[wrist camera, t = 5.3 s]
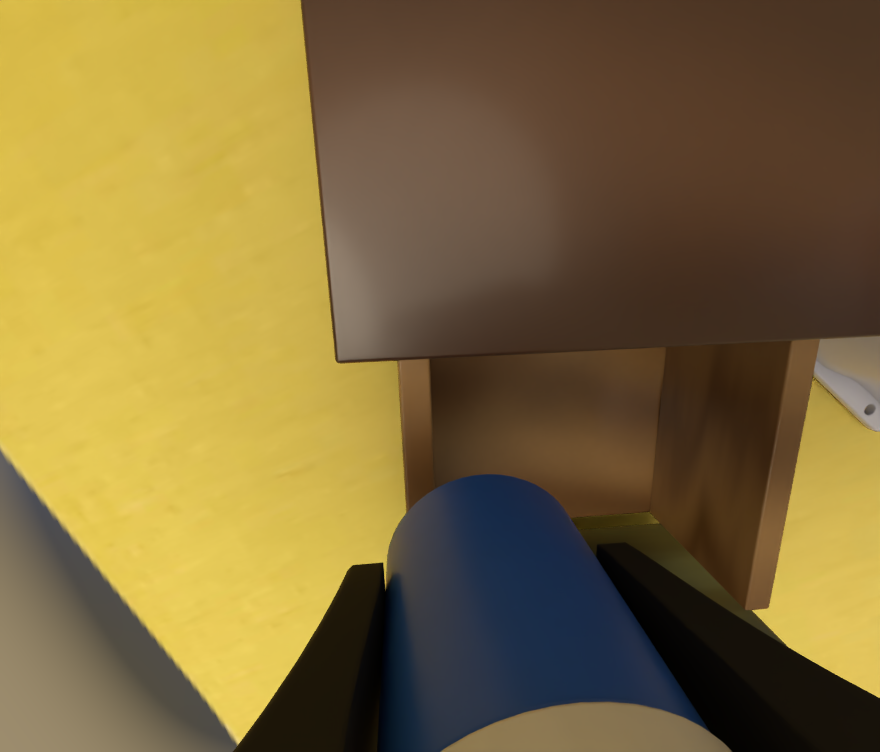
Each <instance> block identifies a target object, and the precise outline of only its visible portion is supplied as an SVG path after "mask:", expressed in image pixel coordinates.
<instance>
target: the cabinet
mask: <svg viewBox="0 0 880 752" xmlns="http://www.w3.org/2000/svg"><path fill="white" fill-rule="evenodd" d="M301 10H302V20H303V30H304V41H305V51H306V61H307V72H308V82H309V92H310V103H311V113H312V123H313V133H314V144H315V154H316V164H317V175H318V185H319V195H320V205H321V216H322V226H323V236H324V247H325V257H326V267H327V278H328V288H329V298H330V308H331V319H332V329H333V339H334V350H335V360H336V361H337V363H360V362H380V361H400V360H420V359H440V358H459V357H479V356H499V355H519V354H539V353H559V352H579V351H599V350H619V349H638V348H658V347H678V346H698V345H718V344H738V343H758V342H778V341H797V340H817V339H837V338H857V337H877V336H880V0H301Z"/></svg>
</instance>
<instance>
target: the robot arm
mask: <svg viewBox="0 0 880 752" xmlns="http://www.w3.org/2000/svg"><path fill="white" fill-rule="evenodd" d="M813 376H814V377H815V378H816V379H817V380H818V381H819V382H820V383H821V384H822V385H823V386H824V387H825V388H826V389H827V390H828V391H829V392H830V393H831V394H832V395H833V396H834V397H835V398H836V399H838V400H839V401H840V402H841V403H842V404H843V405H844V406H845V407H846V408H847V409H848V410H849V411H850V412H851V413H852V414H853V415H854V416H855V417H856V418H857V419H858V420H859V421H860V422H861V423H862V424H863V425H864V426H865V427H867V428H868V429H871V430H873V431H878V432H880V336H877V337H857V338H837V339H820V343H819V348H818V353H817V358H816V364H815V369H814V374H813ZM865 408H866V409H865ZM596 558H597V559H598V561H599V563H600V564H601V566H602V567H603V569H604V570H605V572H606V573H607V575H608V576H609V578H610V579H611V581H612V582H613V584H614V586H615V587H616V589H617V590H618V592H619V593H620V595H621V596H622V598H623V599H624V601H625V602H626V604H627V605H628V607H629V608H630V610H631V612H632V613H633V615H634V616H635V618H636V619H637V621H638V622H639V624H640V625H641V627H642V628H643V630H644V631H645V633H646V635H647V636H648V638H649V639H650V641H651V642H652V644H653V645H654V647H655V648H656V650H657V651H658V653H659V654H660V656H661V657H662V659H663V661H664V662H665V664H666V665H667V667H668V668H669V670H670V671H671V673H672V674H673V676H674V677H675V679H676V680H677V682H678V683H679V685H680V687H681V688H682V690H683V691H684V693H685V694H686V696H687V697H688V699H689V700H690V702H691V703H692V705H693V706H694V708H695V710H696V711H697V713H698V714H699V716H700V717H701V719H702V720H703V722H704V723H705V725H706V726H707V728H708V729H709V731H710V732H711V734H713V735H714V736H715V737H717V738H718V739H720V740H721V741H722V742H723V743H724V744H725V745H726V746H727V747H728V748H729V749H730V750H731V751H732V752H880V698H878V697H876V696H874V695H873V694H871V693H869V692H867V691H865V690H863V689H861V688H860V687H858V686H856V685H854V684H852V683H850V682H848V681H847V680H845V679H843V678H841V677H839V676H837V675H835V674H833V673H832V672H830V671H828V670H826V669H825V668H823V667H821V666H819V665H818V664H816V663H814V662H812V661H810V660H809V659H807V658H805V657H804V656H802V655H800V654H798V653H797V652H795V651H793V650H792V649H790V648H789V647H787V646H785V645H784V644H782V643H780V642H779V641H777V640H775V639H774V638H772V637H770V636H769V635H767V634H765V633H764V632H762V631H760V630H759V629H757V628H755V627H754V626H752V625H751V624H749V623H748V622H746V621H744V620H743V619H741V618H740V617H738V616H736V615H735V614H733V613H732V612H730V611H729V610H727V609H726V608H724V607H722V606H721V605H719V604H718V603H716V602H715V601H713V600H712V599H710V598H709V597H707V596H706V595H704V594H703V593H701V592H700V591H698V590H697V589H695V588H694V587H692V586H691V585H689V584H688V583H686V582H685V581H683V580H682V579H680V578H679V577H677V576H676V575H675V574H673V573H672V572H670V571H669V570H667V569H666V568H664V567H663V566H661V565H660V564H658V563H657V562H655V561H654V560H652V559H651V558H649V557H648V556H646V555H645V554H643V553H642V552H640V551H639V550H637V549H636V548H634V547H632V546H631V545H629V544H628V543H626V542H621V543H609V544H597V551H596ZM384 610H385V580H384V568H383V563H374V564H362V565H353V566H352V567H351V568H350V569H349V570H348V571H347V573H346V575H345V577H344V579H343V582H342V584H341V586H340V588H339V590H338V591H337V593H336V595H335V597H334V599H333V601H332V603H331V605H330V606H329V608H328V610H327V612H326V614H325V615H324V617H323V619H322V621H321V622H320V624H319V626H318V627H317V629H316V631H315V632H314V634H313V636H312V637H311V639H310V641H309V642H308V644H307V646H306V647H305V649H304V651H303V652H302V654H301V656H300V657H299V659H298V660H297V662H296V663H295V665H294V666H293V668H292V669H291V671H290V672H289V674H288V675H287V677H286V678H285V680H284V681H283V683H282V684H281V686H280V687H279V689H278V690H277V692H276V693H275V695H274V696H273V698H272V699H271V701H270V702H269V703H268V705H267V706H266V708H265V709H264V711H263V712H262V713H261V715H260V716H259V718H258V719H257V720H256V722H255V723H254V724H253V726H252V727H251V729H250V730H249V731H248V733H247V734H246V735H245V737H244V738H243V739H242V741H241V742H240V743H239V745H238V746H237V747H236V749H235V750H234V751H233V752H377V742H378V723H379V704H380V685H381V667H382V648H383V629H384Z"/></svg>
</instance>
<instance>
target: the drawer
mask: <svg viewBox="0 0 880 752" xmlns="http://www.w3.org/2000/svg"><path fill="white" fill-rule="evenodd" d="M819 343H820V339H817V340H797V341H778V342H758V343H738V344H718V345H698V346H678V347H658V348H638V349H619V350H599V351H579V352H559V353H539V354H519V355H499V356H479V357H459V358H440V359H420V360H400V361H397V364H398V381H399V397H400V414H401V430H402V447H403V464H404V480H405V497H406V513H407V512H408V511H409V510H410V509H411V508H412V507H413V506H414V505H415V503H417V502H418V501H419V500H420V499H421V498H423V497H424V496H425V495H426V494H428V493H429V492H431V491H433V490H434V489H436V488H438V487H440V486H442V485H444V484H446V483H448V482H451V481H454V480H457V479H460V478H463V477H468V476H473V475H482V474H500V475H506V476H512V477H516V478H519V479H523V480H526V481H528V482H531V483H533V484H535V485H537V486H539V487H540V488H542V489H544V490H545V491H547V492H548V493H549V494H551V495H552V496H553V497H554V498H555V499H556V500H557V501H558V502H559V503H560V504H561V505H562V506H563V508H564V509H565V511H566V512H567V514H568V515H569V517H570V518H575V517H588V516H601V515H614V514H627V513H640V512H650V513H651V514H652V515H653V516H654V518H655V519H656V520H657V521H658V522H659V523H657V524H645V525H632V526H619V527H607V528H594V529H581V530H579V532H580V533H581V535H582V537H583V538H584V540H585V541H586V543H587V544H588V546H589V547H590V549H591V550H592V552H593V553H594V555H595V556H596V551H597V544H609V543H621V542H626V543H628V544H629V545H631V546H632V547H634V548H636V549H637V550H639V551H640V552H642V553H643V554H645V555H646V556H648V557H649V558H651V559H652V560H654V561H655V562H657V563H658V564H660V565H661V566H663V567H664V568H666V569H667V570H669V571H670V572H672V573H673V574H675V575H676V576H677V577H679V578H680V579H682V580H683V581H685V582H686V583H688V584H689V585H691V586H692V587H694V588H695V589H697V590H698V591H700V592H701V593H703V594H704V595H706V596H707V597H709V598H710V599H712V600H713V601H715V602H716V603H718V604H719V605H721V606H722V607H724V608H726V609H727V610H729V611H730V612H732V613H733V614H735V615H736V616H738V617H740V618H741V619H743V620H744V621H746V622H748V623H749V624H751V625H752V626H754V627H755V628H757V629H759V630H760V631H762V632H764V633H765V634H767V635H769V636H770V637H772V638H774V639H775V640H777V641H779V642H780V643H782V644H784V645H785V646H786V644H785V643H784V642H783V641H782V640H781V639H780V638H779V637H778V636H777V635H776V634H775V633H774V632H773V631H772V630H771V629H770V628H769V627H768V626H767V625H766V624H765V623H764V622H763V621H762V620H761V619H760V618H759V617H758V616H757V615H756V614H755V613H754V612H753V611H752V610H756V609H767V608H768V607H769V604H770V598H771V593H772V588H773V583H774V578H775V572H776V567H777V562H778V557H779V551H780V546H781V541H782V536H783V531H784V525H785V520H786V515H787V510H788V504H789V499H790V494H791V489H792V484H793V478H794V473H795V468H796V463H797V457H798V452H799V447H800V442H801V437H802V431H803V426H804V421H805V416H806V410H807V405H808V400H809V395H810V390H811V384H812V379H813V374H814V369H815V364H816V358H817V353H818V348H819Z"/></svg>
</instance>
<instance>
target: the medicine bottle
mask: <svg viewBox="0 0 880 752" xmlns="http://www.w3.org/2000/svg"><path fill="white" fill-rule="evenodd" d="M377 752H732V751H731V750H730V749H729V748H728V747H727V746H726V745H725V744H724V743H723V742H722V741H721V740H720V739H718V738H717V737H715V736H714V735H713V734H711V732H710V731H709V729H708V728H707V726H706V725H705V723H704V722H703V720H702V719H701V717H700V716H699V714H698V713H697V711H696V710H695V708H694V706H693V705H692V703H691V702H690V700H689V699H688V697H687V696H686V694H685V693H684V691H683V690H682V688H681V687H680V685H679V683H678V682H677V680H676V679H675V677H674V676H673V674H672V673H671V671H670V670H669V668H668V667H667V665H666V664H665V662H664V661H663V659H662V657H661V656H660V654H659V653H658V651H657V650H656V648H655V647H654V645H653V644H652V642H651V641H650V639H649V638H648V636H647V635H646V633H645V631H644V630H643V628H642V627H641V625H640V624H639V622H638V621H637V619H636V618H635V616H634V615H633V613H632V612H631V610H630V608H629V607H628V605H627V604H626V602H625V601H624V599H623V598H622V596H621V595H620V593H619V592H618V590H617V589H616V587H615V586H614V584H613V582H612V581H611V579H610V578H609V576H608V575H607V573H606V572H605V570H604V569H603V567H602V566H601V564H600V563H599V561H598V559H597V558H596V556H595V555H594V553H593V552H592V550H591V549H590V547H589V546H588V544H587V543H586V541H585V540H584V538H583V537H582V535H581V533H580V532H579V530H578V529H577V527H576V526H575V524H574V523H573V521H572V520H571V518H570V517H569V515H568V514H567V512H566V511H565V509H564V508H563V506H562V505H561V504H560V503H559V502H558V501H557V500H556V499H555V498H554V497H553V496H552V495H551V494H549V493H548V492H547V491H545V490H544V489H542V488H540V487H539V486H537V485H535V484H533V483H531V482H528V481H526V480H523V479H519V478H516V477H512V476H506V475H500V474H482V475H473V476H468V477H463V478H460V479H457V480H454V481H451V482H448V483H446V484H444V485H442V486H440V487H438V488H436V489H434V490H433V491H431V492H429V493H428V494H426V495H425V496H424V497H423V498H421V499H420V500H419V501H418V502H417V503H415V505H414V506H413V507H412V508H411V509H410V510H409V511H408V512H407V513H406V514H405V516H404V517H403V519H402V520H401V521H400V523H399V525H398V526H397V528H396V530H395V532H394V534H393V537H392V540H391V542H390V545H389V550H388V555H387V572H386V591H385V610H384V629H383V648H382V667H381V685H380V704H379V723H378V742H377Z"/></svg>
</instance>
